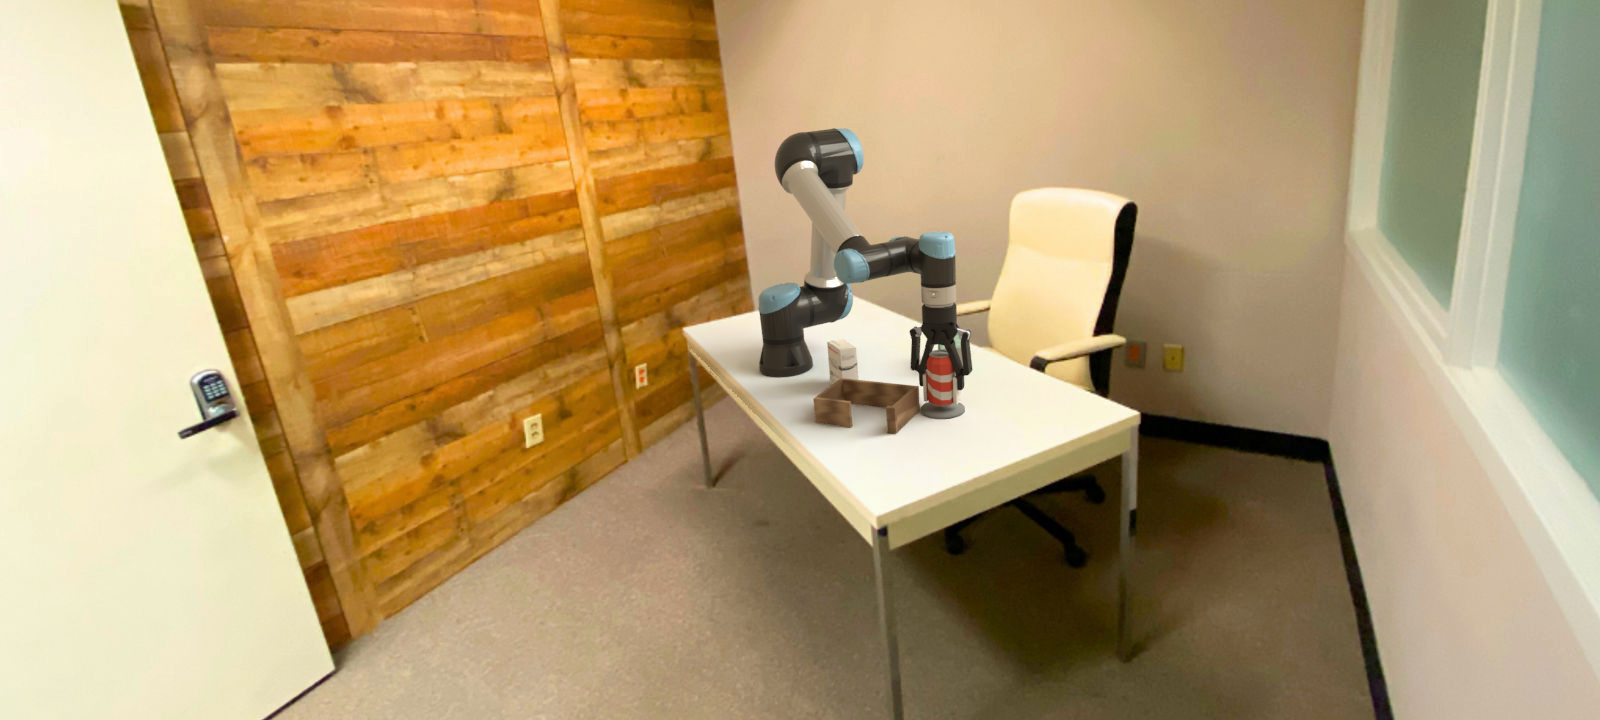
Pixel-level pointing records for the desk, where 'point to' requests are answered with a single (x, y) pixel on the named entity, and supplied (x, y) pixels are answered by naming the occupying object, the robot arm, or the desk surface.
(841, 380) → the wooden enclosure
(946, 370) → the beverage can
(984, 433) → the desk surface
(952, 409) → the coaster
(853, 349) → the ink box
